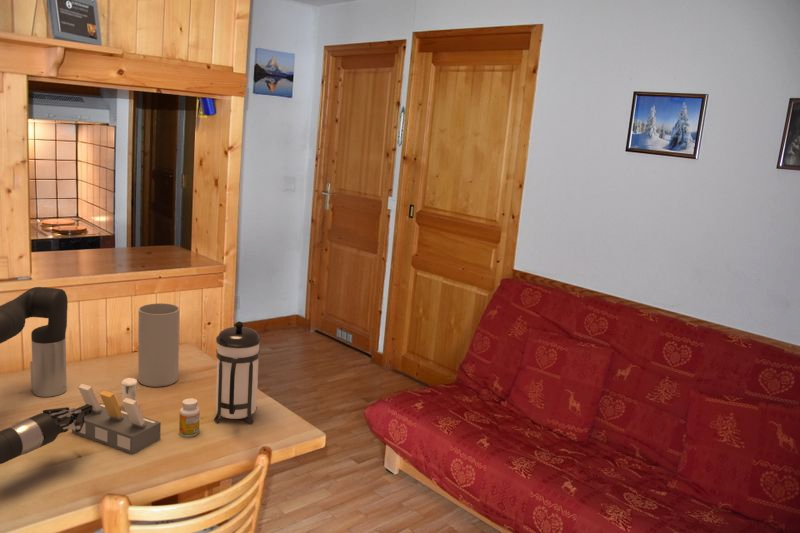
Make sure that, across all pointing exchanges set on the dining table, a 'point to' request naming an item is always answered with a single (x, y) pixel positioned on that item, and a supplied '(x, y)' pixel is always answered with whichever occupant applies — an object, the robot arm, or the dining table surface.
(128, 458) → the dining table surface
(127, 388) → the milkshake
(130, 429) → the strip block
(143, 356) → the cylinder vase
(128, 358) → the dining table surface
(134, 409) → the rocker right
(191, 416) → the supplement bottle
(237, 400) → the coffee press
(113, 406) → the rocker amber
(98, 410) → the rocker left
